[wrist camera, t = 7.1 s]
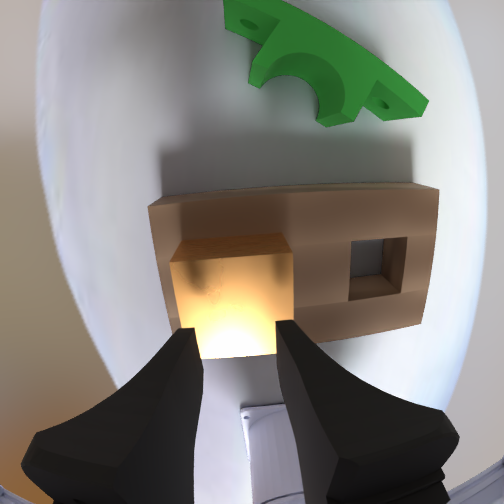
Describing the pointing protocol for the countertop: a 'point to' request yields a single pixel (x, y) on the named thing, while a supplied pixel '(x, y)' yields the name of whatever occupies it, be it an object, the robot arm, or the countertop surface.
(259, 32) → the pipe clamp
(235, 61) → the countertop surface
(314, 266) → the board
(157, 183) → the countertop surface
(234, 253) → the orange block
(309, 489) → the robot arm
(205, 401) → the countertop surface
